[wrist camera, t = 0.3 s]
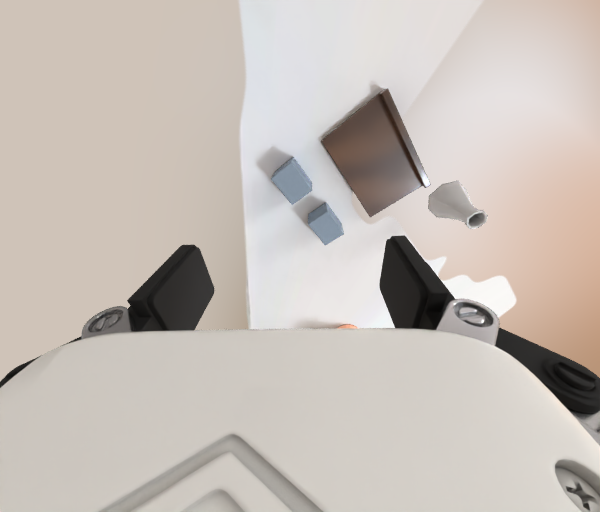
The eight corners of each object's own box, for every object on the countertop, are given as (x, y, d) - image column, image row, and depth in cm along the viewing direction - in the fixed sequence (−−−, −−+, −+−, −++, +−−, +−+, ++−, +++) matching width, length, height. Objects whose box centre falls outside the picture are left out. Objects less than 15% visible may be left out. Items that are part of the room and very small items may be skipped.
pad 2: (308, 214, 48) (308, 224, 43) (326, 202, 46) (327, 211, 42) (323, 234, 50) (325, 245, 46) (341, 223, 48) (344, 233, 44)
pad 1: (274, 172, 43) (270, 179, 39) (293, 156, 41) (291, 162, 37) (293, 196, 45) (292, 205, 41) (311, 182, 44) (312, 190, 40)
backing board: (321, 140, 40) (321, 142, 37) (383, 89, 35) (387, 88, 33) (369, 215, 47) (371, 220, 45) (425, 181, 43) (431, 184, 41)
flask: (469, 204, 45) (505, 226, 37) (432, 221, 47) (458, 246, 39) (461, 173, 42) (498, 189, 33) (422, 193, 44) (448, 214, 36)
